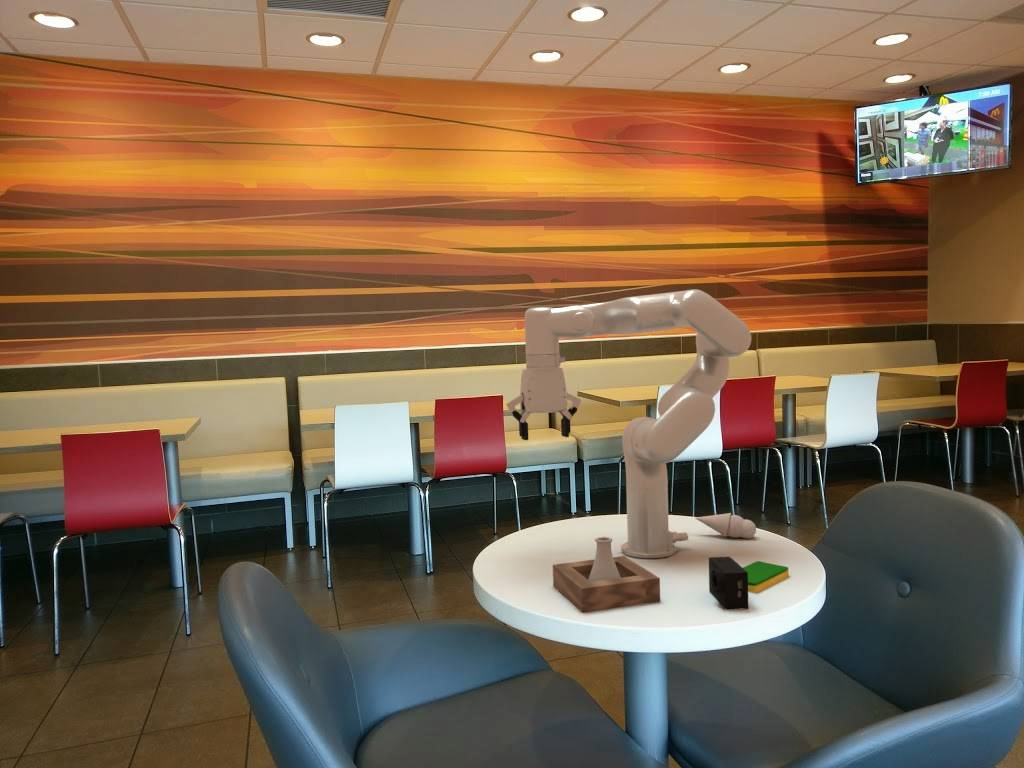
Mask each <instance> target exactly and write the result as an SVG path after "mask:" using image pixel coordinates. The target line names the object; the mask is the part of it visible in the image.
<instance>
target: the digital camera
mask: <svg viewBox="0 0 1024 768" xmlns="http://www.w3.org/2000/svg"><path fill="white" fill-rule="evenodd" d="M708 587H709V588H708V591H709V593H710V594H711V595H712V596H713V597H714V599H716V601H717V602H718V603H719V604H720V605H721V606H722V607H723V608H724V609H725V610H727V611H728V610H730V611H731V610H748V609H749V592H748V572H746V571H745V570H744V569H743V567H742V566H741V565H740V564H739V563H738V562H737V561H735V559H733V558H732V557H731V556H711V557H708Z"/></svg>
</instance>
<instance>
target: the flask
mask: <svg viewBox="0 0 1024 768" xmlns="http://www.w3.org/2000/svg"><path fill="white" fill-rule="evenodd" d="M594 541H595V542H596V551H595V552H596V553H595V558H594V560H595V561H594V564H593V567H592V570H591V573H590V576H589V579H588V580H589V581H590V582H593V581H600V580H608V579H616V578H621V577H620V574H619V572H618V570H617V567H616V564H615V562H614V559H613V557H614V555H613V552H612V544H611V543H612V541H613V538H611V537H609V536H598V537H596V538H594Z"/></svg>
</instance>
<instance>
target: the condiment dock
mask: <svg viewBox="0 0 1024 768" xmlns="http://www.w3.org/2000/svg"><path fill="white" fill-rule="evenodd" d="M613 559H614V562H615V564H616V567H617V570H618V572H619V574H620V577H621V578H616V579H608V580H600V581H593V582H590V581H589V580H588V579H589V576H590V573H591V570H592V567H593V564H594V561H595V559H590V560H580V561H573V562H566V563H556V564H555V563H554V564H552V585H553V587H554V588H555V589H556V590H557V591H558V592H559V593H561V595H562V596H563V597H565V599H567V600H568V601H569V602H570V603H571V604H572V605H573V606H575V608H577V610H579V611H580V612H581V613H588V612H589V613H590V612H593V611H595V612H596V611H601V610H608V609H614V608H615V609H616V608H624V607H629V606H636V605H637V606H638V605H643V604H651V603H656V602H657V603H658V602H661V580H660V577H658V576H657V575H655V574H654V573H653V572H651V571H649V570H648V569H646V568H644V567H643V566H641V565H639V564H638V563H636V562H635V561H634V560H632V559H630V558H628V557H627V556H625V555H620V556H613Z"/></svg>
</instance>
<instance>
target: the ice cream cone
mask: <svg viewBox="0 0 1024 768" xmlns="http://www.w3.org/2000/svg"><path fill="white" fill-rule="evenodd" d="M694 519H696V520H697V521H699V522H701V523H702V524H703V525H705V526H707V527H709V528H711V529H712V530H713V531H715V532H717V533H718V534H719V535H720V534H721V536H724V537H725V538H727V537H728V536H729V537H730V538H733V539H738V538H743V539H751V538H753V537H755V535H756V532H757V526H756V524H755V522H753V521H752V520H750V519H744V518H743V517H741V516H740V515H736V514H732V513H731V512H727V513H721V514H713V515H707V516H705V515H704V516H699V517H698V516H697V517H694Z"/></svg>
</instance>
